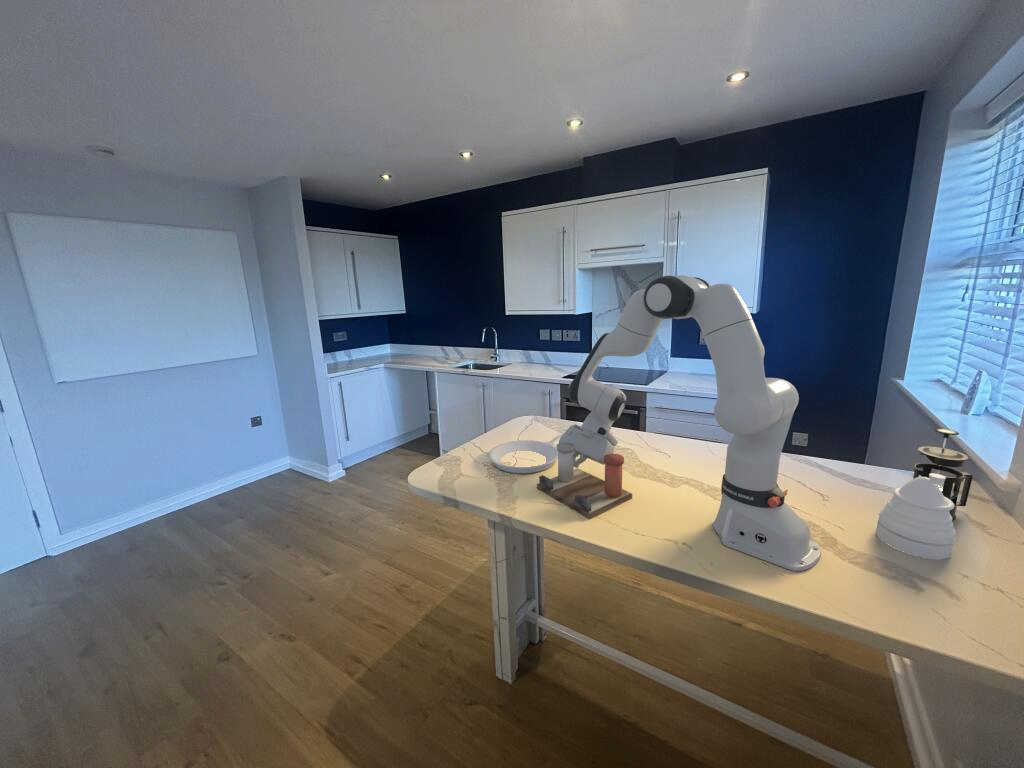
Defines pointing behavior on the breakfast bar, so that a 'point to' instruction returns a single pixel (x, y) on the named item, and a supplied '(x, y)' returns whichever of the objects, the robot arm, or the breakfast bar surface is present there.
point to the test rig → (582, 493)
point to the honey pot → (919, 519)
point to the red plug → (613, 474)
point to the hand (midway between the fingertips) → (572, 465)
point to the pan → (525, 445)
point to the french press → (942, 460)
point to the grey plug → (565, 461)
